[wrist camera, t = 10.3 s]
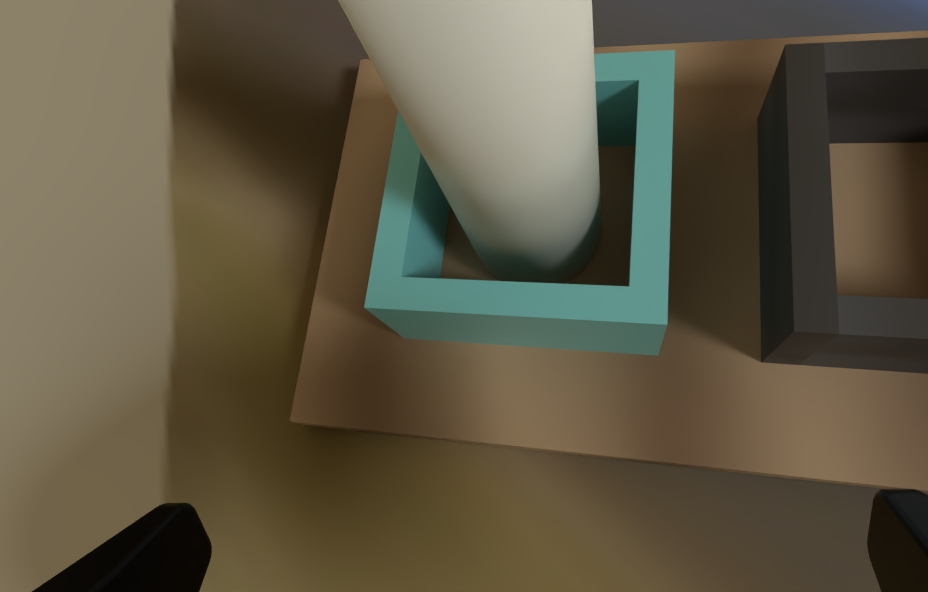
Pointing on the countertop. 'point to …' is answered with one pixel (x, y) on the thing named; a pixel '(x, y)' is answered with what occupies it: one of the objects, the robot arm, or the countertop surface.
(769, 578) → the countertop surface
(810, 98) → the panel board
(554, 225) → the plug
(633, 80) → the port
